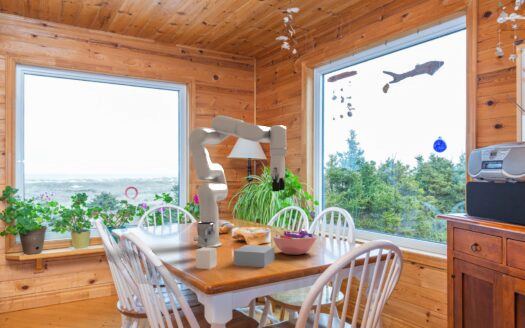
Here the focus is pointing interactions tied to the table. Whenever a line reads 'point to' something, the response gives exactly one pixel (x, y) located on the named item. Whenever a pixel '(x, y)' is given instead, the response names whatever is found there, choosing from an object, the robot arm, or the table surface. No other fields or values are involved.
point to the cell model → (294, 242)
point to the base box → (254, 255)
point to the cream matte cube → (206, 258)
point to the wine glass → (205, 231)
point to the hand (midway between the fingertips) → (278, 190)
